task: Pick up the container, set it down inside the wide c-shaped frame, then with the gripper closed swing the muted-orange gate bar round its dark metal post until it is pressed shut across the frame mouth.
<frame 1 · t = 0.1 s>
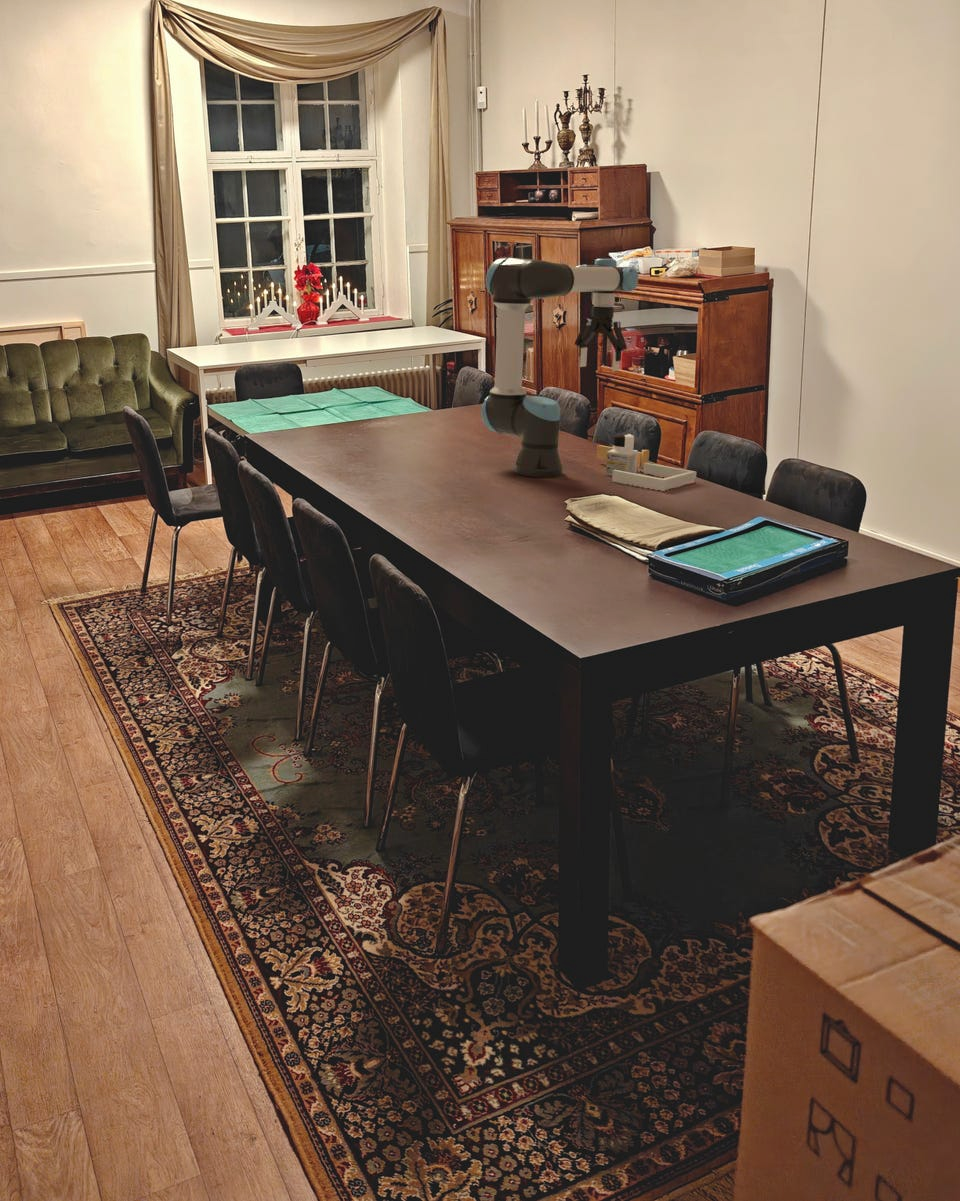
hand: (598, 368, 397), 28 cm above the table, fingers open, 13 cm apart
c-shaped frame: (650, 481, 355), on the table
gate: (622, 454, 373), point 4 cm above the table, hinge at -90.0°
container: (621, 475, 364), on the table
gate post: (643, 471, 369), on the table
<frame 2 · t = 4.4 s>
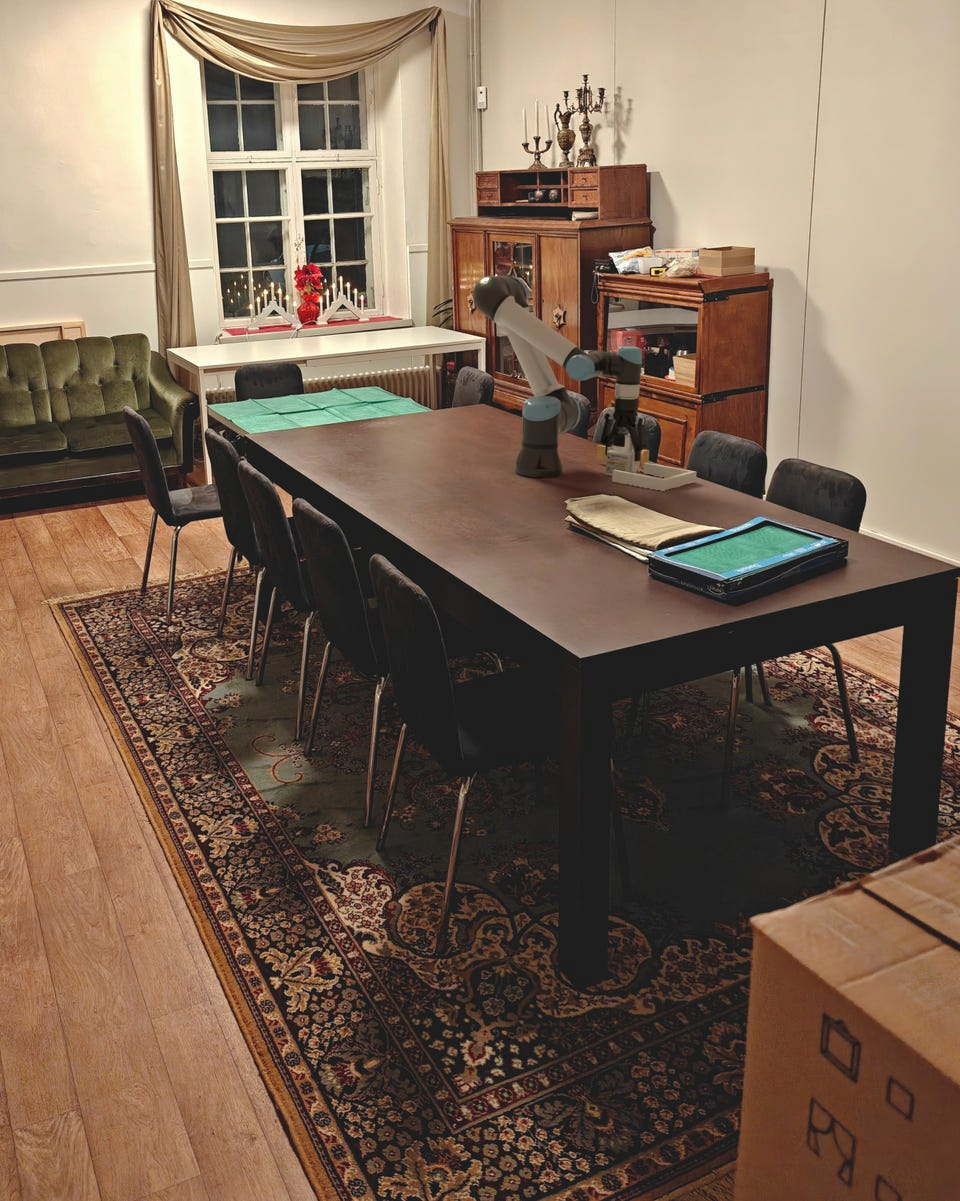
hand: (621, 468, 363), 2 cm above the table, fingers closed on container, 9 cm apart
container: (621, 475, 364), on the table, touching gripper
everything else where it was.
when the fingers open (3 cm above the table, at t = 9.8 s): container drops 1 cm, on the table.
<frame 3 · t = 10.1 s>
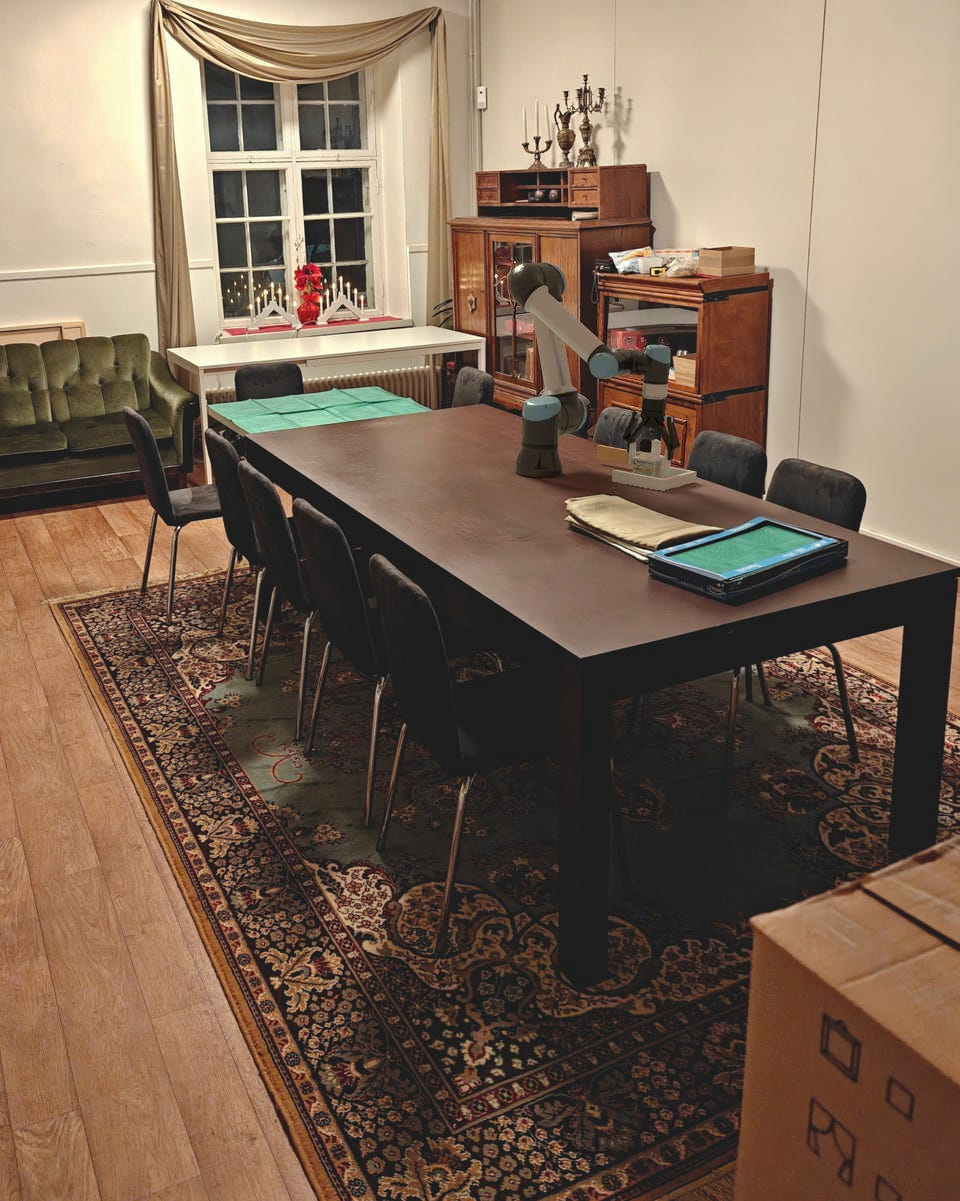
hand: (648, 466, 355), 4 cm above the table, fingers open, 12 cm apart
container: (647, 481, 356), on the table
everything else where it was.
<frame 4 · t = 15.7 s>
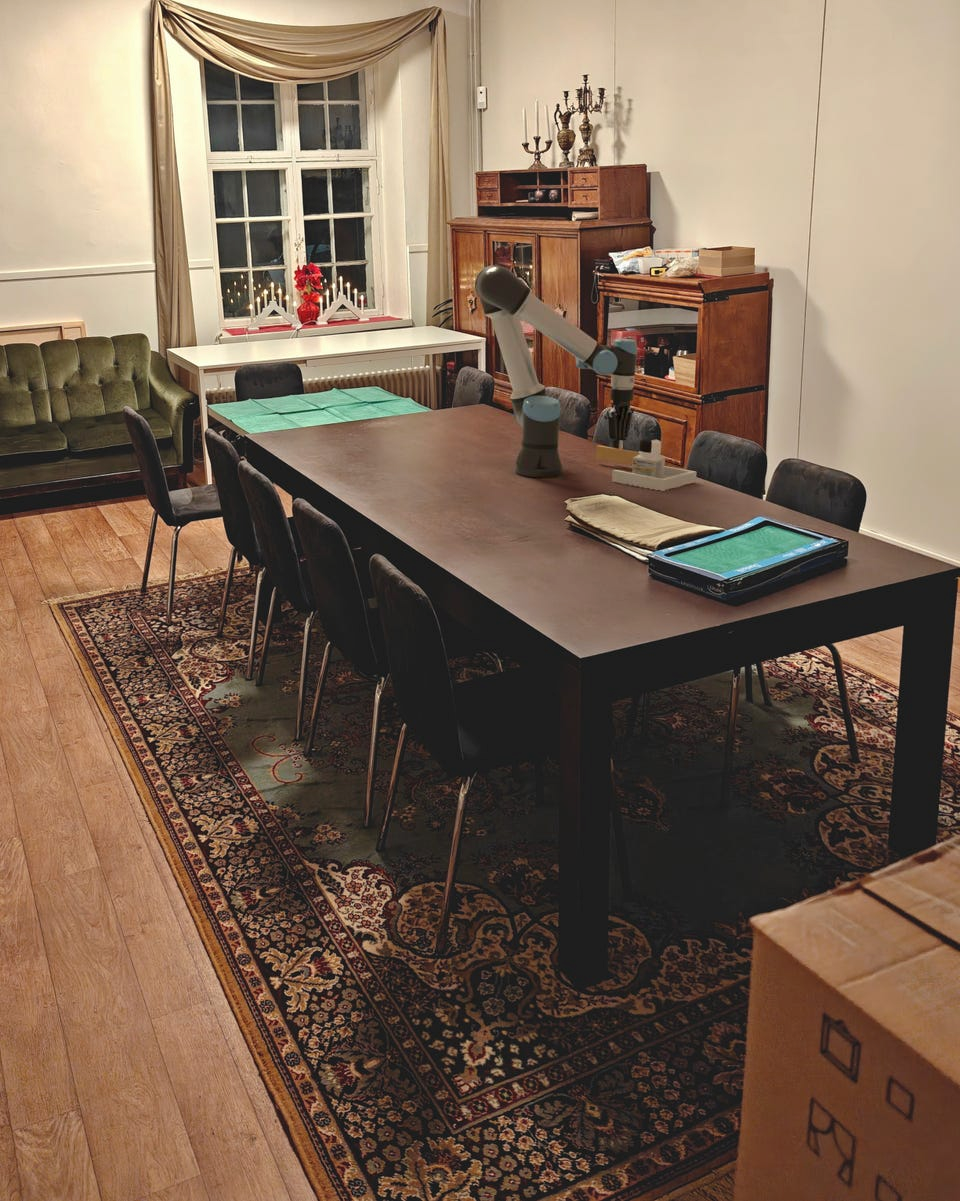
hand: (616, 459, 378), 2 cm above the table, fingers closed
gate: (622, 455, 373), point 4 cm above the table, hinge at -87.5°, touching gripper
everything else where it was.
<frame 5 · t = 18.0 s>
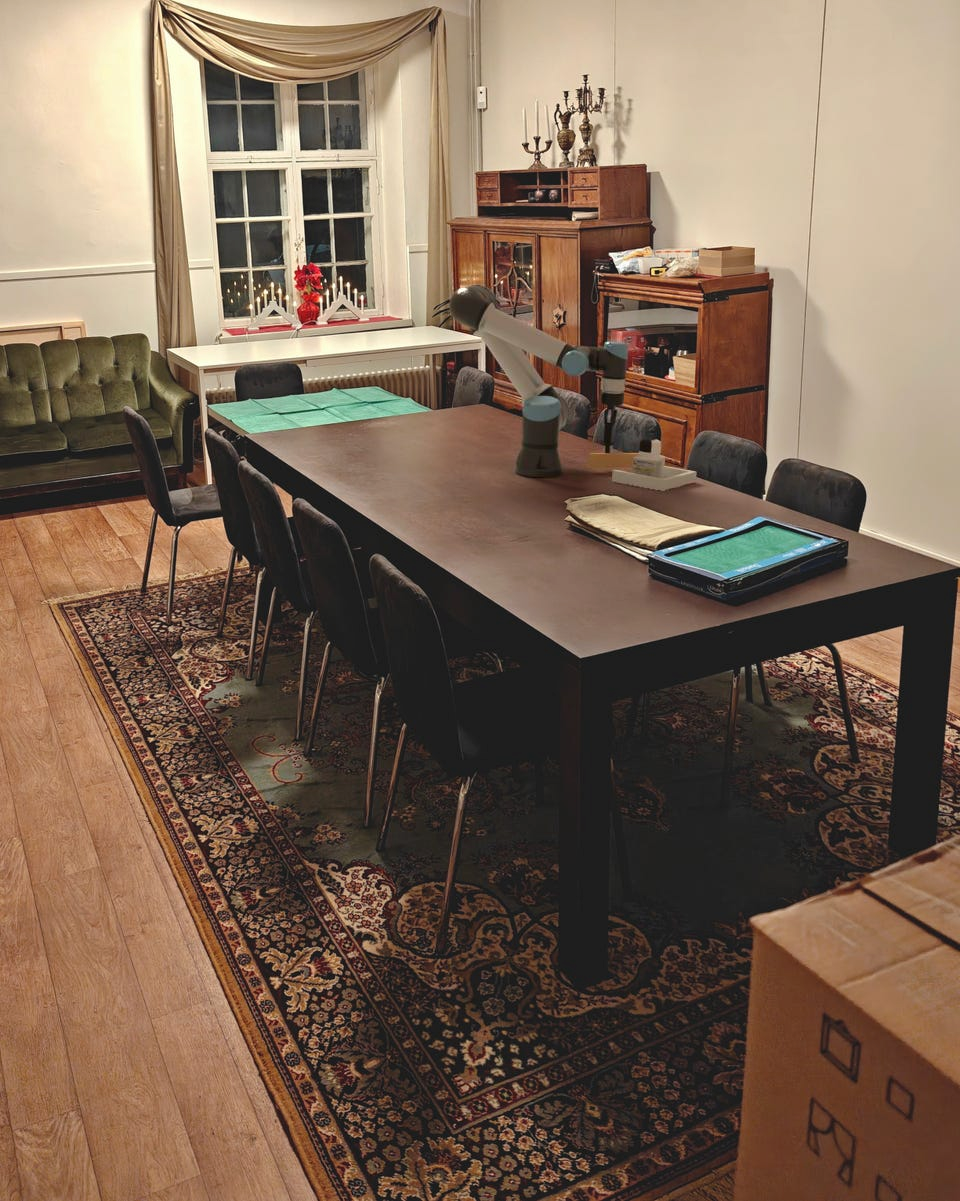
hand: (606, 464, 369), 2 cm above the table, fingers closed
gate: (619, 458, 366), point 4 cm above the table, hinge at -39.6°, touching gripper
everything else where it was.
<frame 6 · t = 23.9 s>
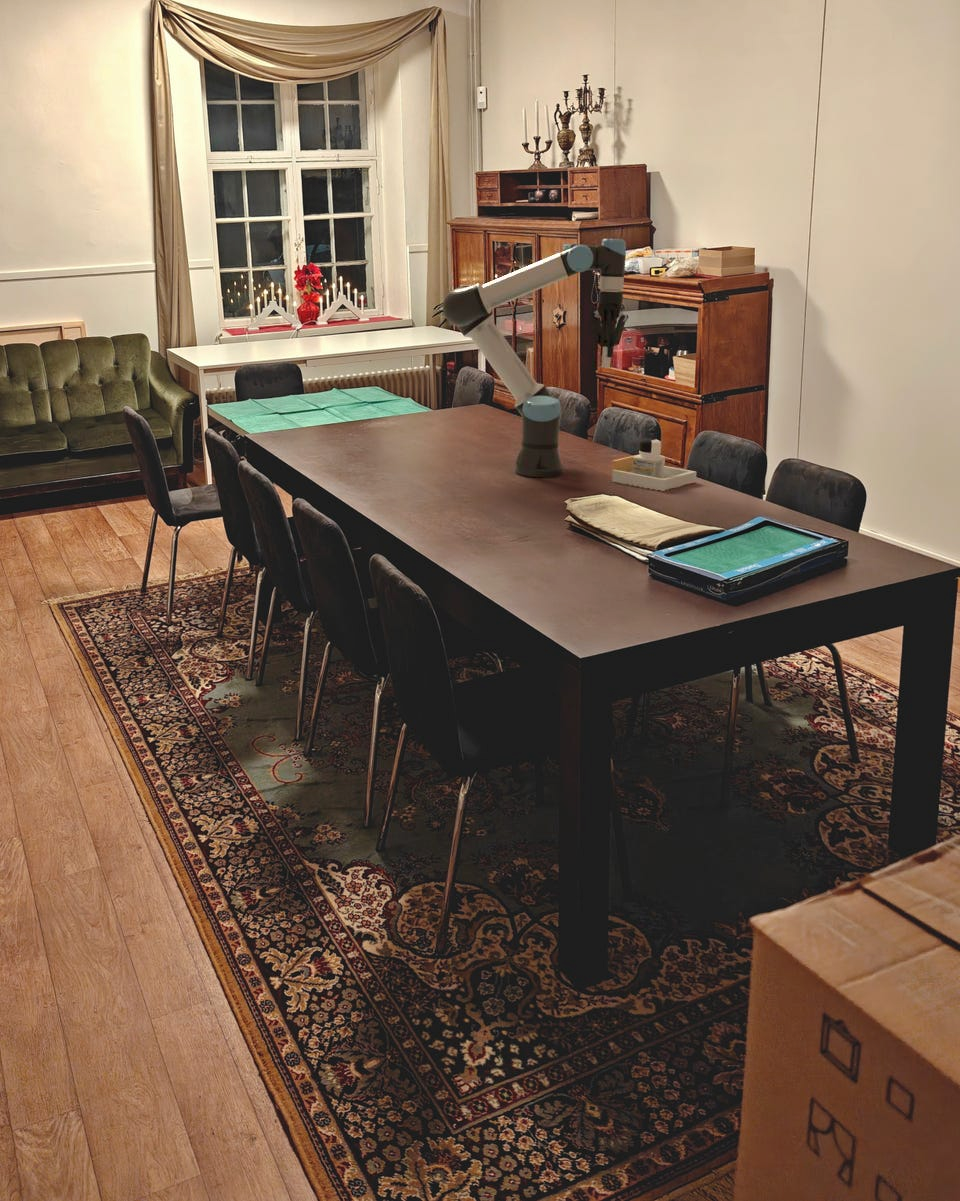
hand: (605, 367, 363), 32 cm above the table, fingers closed
gate: (630, 462, 362), point 4 cm above the table, hinge at 0.6°
everything else where it was.
at the end: container inside the target area (2.6 cm from its centre), on the table; gate at +1° (first picture: -90°); container tilted 0° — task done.
